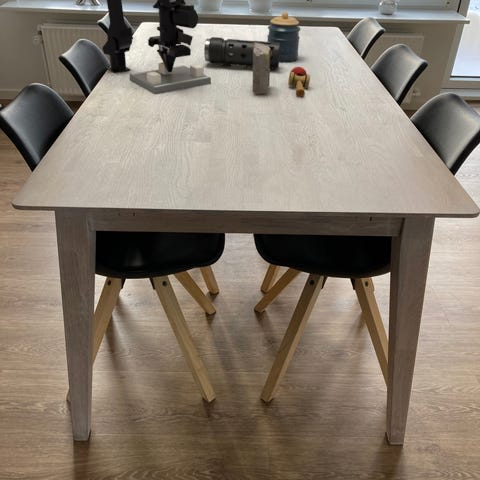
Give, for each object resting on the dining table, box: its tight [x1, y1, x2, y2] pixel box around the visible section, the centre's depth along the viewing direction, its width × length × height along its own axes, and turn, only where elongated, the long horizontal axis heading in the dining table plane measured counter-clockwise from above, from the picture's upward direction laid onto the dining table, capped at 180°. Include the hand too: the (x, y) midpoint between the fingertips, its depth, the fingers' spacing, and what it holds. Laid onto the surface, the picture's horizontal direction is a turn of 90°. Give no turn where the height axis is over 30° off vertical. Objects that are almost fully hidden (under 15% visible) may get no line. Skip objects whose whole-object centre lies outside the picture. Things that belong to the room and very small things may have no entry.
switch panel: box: [129, 64, 212, 95], centre depth 181 cm, size 18×22×5 cm
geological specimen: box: [252, 42, 272, 94], centre depth 173 cm, size 11×6×15 cm, turn 173°
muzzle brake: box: [203, 36, 281, 71], centre depth 197 cm, size 10×28×10 cm, turn 82°
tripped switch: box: [157, 61, 172, 75], centre depth 182 cm, size 4×3×3 cm
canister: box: [266, 11, 301, 63], centre depth 208 cm, size 13×13×18 cm
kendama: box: [287, 66, 311, 98], centre depth 179 cm, size 8×6×18 cm
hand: (169, 71), depth 180 cm, fingers closed
